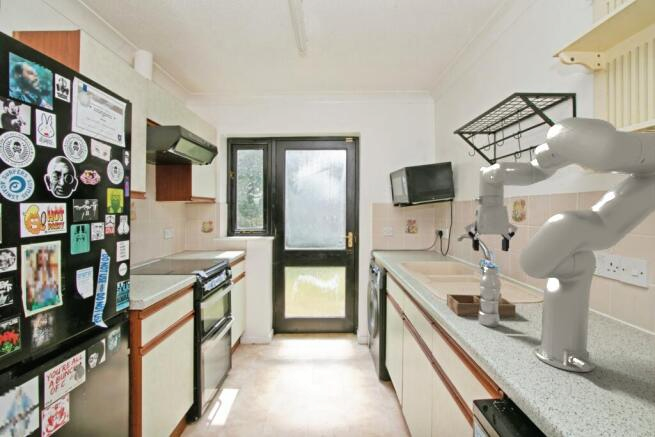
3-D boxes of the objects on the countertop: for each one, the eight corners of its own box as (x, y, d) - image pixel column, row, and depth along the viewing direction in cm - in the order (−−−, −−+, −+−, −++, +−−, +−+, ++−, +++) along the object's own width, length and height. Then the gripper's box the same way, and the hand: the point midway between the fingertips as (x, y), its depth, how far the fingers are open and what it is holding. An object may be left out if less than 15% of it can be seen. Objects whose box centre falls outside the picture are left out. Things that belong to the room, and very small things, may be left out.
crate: (515, 318, 109) (515, 305, 109) (457, 317, 110) (457, 303, 110) (498, 308, 121) (499, 295, 121) (446, 306, 122) (447, 294, 122)
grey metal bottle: (488, 321, 107) (490, 265, 106) (504, 328, 100) (506, 269, 99) (473, 322, 105) (475, 265, 104) (487, 330, 99) (489, 270, 98)
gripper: (469, 201, 102) (468, 251, 103) (523, 201, 101) (522, 252, 101) (461, 202, 110) (461, 249, 110) (511, 202, 108) (510, 249, 109)
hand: (490, 250), depth 106 cm, fingers open, 9 cm apart
